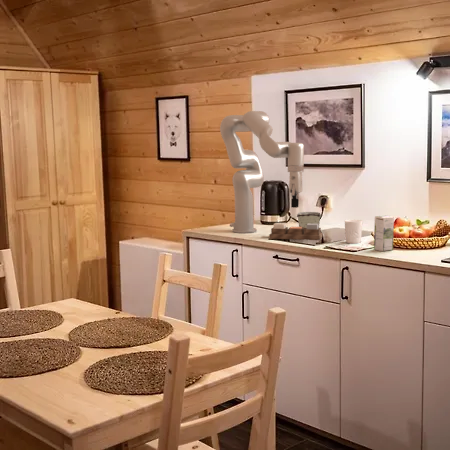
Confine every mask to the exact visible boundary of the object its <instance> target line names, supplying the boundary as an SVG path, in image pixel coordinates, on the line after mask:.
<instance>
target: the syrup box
mask: <svg viewBox="0 0 450 450" xmlns="http://www.w3.org/2000/svg"><path fill="white" fill-rule="evenodd" d="M394 224H395V218H394V216H391V215H378V216H374V237H373V238H374V239H373V243H374V244H373V250H374V251H378V252H379V251H380V252H387V251H389V252H390V251H393V250H394Z"/></svg>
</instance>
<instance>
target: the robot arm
mask: <svg viewBox="0 0 450 450" xmlns="http://www.w3.org/2000/svg"><path fill="white" fill-rule="evenodd" d="M219 126H220V127H219V130H220V131H219V132H220V135H221V139H222V140H223V143H224V145H225V150H226V153H227V157H228V160H229V163H230V165H231V167H232V168H233V169H238V171H235V172H234V173H233V176H232V186H233V192H234V222H230V224H229V227H230V228H231V227H232V230H231V231H232V233H239V234H243V233H244V234H246V233H247V234H248V233H249V234H251V233H256V232H258V231H257V230H258V229H257V228H256V227H254V195H253V193H252V190H251V189H254V188H255V189H256V188H260V187H261V186H262V185H263V184H264V181H265V180H264V173H263V169H262V166H261V163H260V159H259V156H258V155H257V153H256V152H255V151H254V150H253V149H244V146H243V142H242V140H241V138H240V136H239V135H238V134H237V133H238V132H239V133H244V132H245V133H246V132H251V133H252V134H254V136H255V137H256V138H258V143H259V145H260V148H261V149H262V151H264V152H265V154H267V155H268V156H269V157H271V158H273V159H283V158H284V159H285V158H287V173H289V177H288V179H289V184H288V186H289V188H288V191H289V193H290V194H291V200H290V204H291V206H290V207H291V208H297V209H298V208H299V204H300V203H299V201H300V200H299V195H300V194H301V193H302V192H303V173H304V169H305V168H304V166H305V165H304V164H305V161H304V160H305V145H304V143H303V142H290V141H275V140H274V139H273V138H271V135H272V134H273V127H272V125H271V124H270V116H269V115H268V114H267V112H264V111H259V110H251V111H247V112H245V113H244V114H240V115H239V114H231V115H226V116H225V117H223V118H222V120H221V122H220V124H219Z"/></svg>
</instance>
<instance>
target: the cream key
mask: <svg viewBox="0 0 450 450" xmlns="http://www.w3.org/2000/svg"><path fill="white" fill-rule="evenodd" d="M273 227H274V229H285V228H286V227H287V223H286V222H275V223H273Z"/></svg>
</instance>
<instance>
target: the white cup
mask: <svg viewBox="0 0 450 450" xmlns="http://www.w3.org/2000/svg"><path fill="white" fill-rule="evenodd" d="M344 230H345V233H344V234H345V243H347V244H361V243H362V234H363V220H362V219H345V220H344Z"/></svg>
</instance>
